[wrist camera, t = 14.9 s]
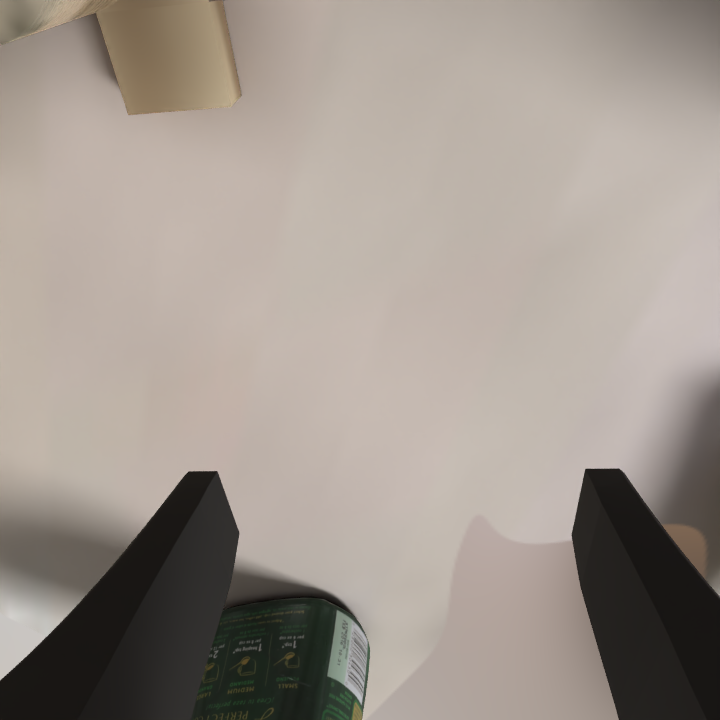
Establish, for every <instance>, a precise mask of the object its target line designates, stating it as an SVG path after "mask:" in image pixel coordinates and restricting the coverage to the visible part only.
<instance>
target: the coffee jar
mask: <svg viewBox="0 0 720 720" xmlns="http://www.w3.org/2000/svg"><path fill="white" fill-rule="evenodd" d="M369 659H370V647H369V643H368V639H367V637H366V634H365V632H364V630H363V629H362V626H361V625H360V623H359V622H358V621H357V620H356V618H355V617H354V616H353V615H352V614H350V613H348V612H347V611H345V610H344V609H342V608H340V607H338V606H336V605H334V604H332V603H330V602H328V601H326V600H324V599H320V598H295V599H280V600H272V601H266V602H259V603H252V604H247V605H242V606H237V607H233V608H229V609H226V610H223V611H222V614H221V618H220V621H219V624H218V628H217V631H216V634H215V638H214V641H213V644H212V647H211V651H210V654H209V657H208V661H207V664H206V667H205V671H204V674H203V677H202V681H201V684H200V687H199V690H198V694H197V698H196V702H195V706H194V709H193V713H192V717H191V720H362V716H363V709H364V702H365V696H366V688H367V680H368V671H369Z"/></svg>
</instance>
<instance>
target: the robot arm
mask: <svg viewBox="0 0 720 720" xmlns="http://www.w3.org/2000/svg"><path fill="white" fill-rule="evenodd" d="M238 538H239V531H238V528H237V525H236V522H235V520H234V517H233V514H232V511H231V508H230V505H229V503H228V500H227V497H226V494H225V491H224V489H223V486H222V483H221V480H220V477H219V475H218V472H217V471H193V472H188V473H187V474H186V475H185V476H184V477H183V478H182V480H181V481H180V482H179V483H178V485H177V486H176V487H175V489H174V490H173V491H172V492H171V494H170V495H169V496H168V498H167V499H166V500H165V501H164V503H163V504H162V505H161V507H160V508H159V509H158V510H157V512H156V513H155V514H154V516H153V517H152V518H151V519H150V521H149V522H148V523H147V524H146V526H145V527H144V528H143V529H142V531H141V532H140V533H139V534H138V536H137V537H136V538H135V539H134V540H133V542H132V543H131V544H130V545H129V546H128V548H127V549H126V550H125V551H124V552H123V554H122V555H121V556H120V557H119V559H118V560H117V561H116V562H115V563H114V565H113V566H112V567H111V568H110V569H109V570H108V572H107V573H106V574H105V575H104V576H103V577H102V578H101V579H100V580H99V582H98V583H97V584H96V585H95V586H94V587H93V588H92V589H91V591H90V592H89V593H88V594H87V595H86V596H85V597H84V598H83V599H82V601H81V602H80V603H79V604H78V605H77V606H76V607H75V608H74V609H73V610H72V611H71V612H70V613H69V615H68V616H67V617H66V618H65V619H64V620H63V621H62V622H61V623H60V624H59V625H58V626H57V627H56V628H55V629H54V630H53V631H52V632H51V633H50V634H49V635H48V636H47V637H46V638H45V639H44V640H43V641H42V642H41V643H40V644H39V645H38V646H37V647H36V648H35V649H34V650H33V651H32V652H31V653H30V654H29V655H28V656H27V657H25V658H24V659H23V660H22V661H21V662H20V663H19V664H18V665H17V666H16V667H15V668H14V669H13V670H11V671H10V672H9V673H8V674H7V675H6V676H5V677H4V678H3V679H1V680H0V720H191V717H192V713H193V709H194V706H195V702H196V698H197V694H198V690H199V687H200V684H201V681H202V677H203V674H204V671H205V667H206V664H207V661H208V657H209V654H210V651H211V647H212V644H213V641H214V638H215V634H216V631H217V628H218V624H219V621H220V618H221V614H222V611H223V607H224V604H225V601H226V597H227V594H228V590H229V587H230V583H231V579H232V573H233V568H234V563H235V557H236V551H237V545H238ZM572 540H573V546H574V552H575V558H576V564H577V570H578V575H579V580H580V586H581V590H582V594H583V597H584V601H585V604H586V608H587V611H588V615H589V618H590V622H591V625H592V628H593V631H594V635H595V639H596V642H597V645H598V649H599V652H600V656H601V659H602V662H603V666H604V669H605V673H606V676H607V679H608V683H609V686H610V690H611V693H612V696H613V700H614V703H615V707H616V710H617V714H618V718H619V720H720V597H719V596H718V594H717V593H716V592H715V591H714V590H713V589H712V587H711V586H710V585H709V584H708V583H707V582H706V580H705V579H704V578H703V577H702V575H701V574H700V573H699V572H698V571H697V569H696V568H695V567H694V566H693V564H692V563H691V562H690V561H689V559H688V558H687V557H686V556H685V555H684V553H683V552H682V551H681V550H680V548H679V547H678V546H677V545H676V543H675V542H674V541H673V540H672V538H671V537H670V536H669V534H668V533H667V532H666V530H665V529H664V528H663V526H662V525H661V524H660V522H659V521H658V520H657V518H656V517H655V516H654V514H653V513H652V512H651V510H650V509H649V508H648V506H647V505H646V503H645V502H644V501H643V499H642V498H641V496H640V495H639V494H638V492H637V491H636V489H635V488H634V487H633V485H632V484H631V482H630V481H629V479H628V478H627V476H626V475H625V474H624V472H622V471H621V470H620V469H585V473H584V478H583V483H582V488H581V493H580V497H579V502H578V507H577V512H576V517H575V522H574V526H573V531H572Z"/></svg>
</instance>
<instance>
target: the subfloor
mask: <svg viewBox="0 0 720 720" xmlns="http://www.w3.org/2000/svg"><path fill="white" fill-rule="evenodd" d="M96 15H97V18H98V21H99V24H100V27H101V31H102V34H103V37H104V40H105V43H106V46H107V49H108V53H109V56H110V59H111V62H112V65H113V68H114V71H115V75H116V78H117V81H118V84H119V87H120V90H121V93H122V97H123V100H124V103H125V106H126V109H127V112H128V115H134V114H147V113H160V112H172V111H185V110H197V109H210V108H222V107H232V106H233V104H234V103H235V102H236V101H237V100H238V99H239V98H240V97H241V90H240V85H239V80H238V76H237V71H236V66H235V61H234V56H233V51H232V46H231V41H230V36H229V31H228V26H227V21H226V16H225V11H224V6H223V1H222V0H117V1H116V2H115V3H114V4H112V5H111V6H109V7H107V8H106V9H104V10H101V11H98V12H96Z"/></svg>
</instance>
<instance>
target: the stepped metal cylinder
mask: <svg viewBox="0 0 720 720" xmlns="http://www.w3.org/2000/svg"><path fill="white" fill-rule="evenodd" d="M116 1H117V0H0V45H3V44H6V43H9V42H12V41H15V40H18V39H20V38H23V37H26V36H29V35H32V34H35V33H38V32H41V31H44V30H47V29H49V28H52V27H55V26H58V25H61V24H64V23H67V22H70V21H73V20H76V19H78V18H81V17H84V16H87V15H90V14H93V13H96V12H98V11H101V10H104V9H106V8H107V7H109V6H111V5H112V4H114V3H115V2H116Z"/></svg>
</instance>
